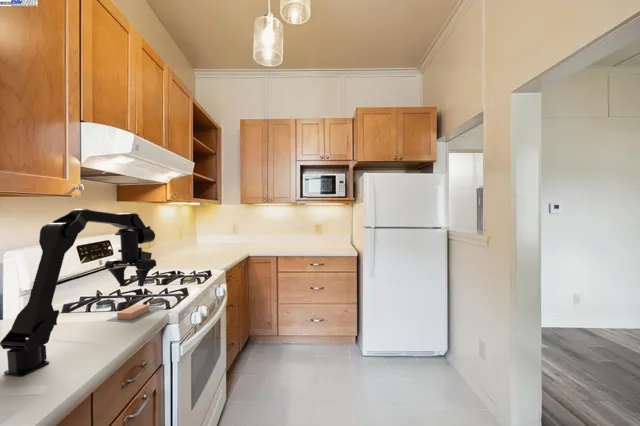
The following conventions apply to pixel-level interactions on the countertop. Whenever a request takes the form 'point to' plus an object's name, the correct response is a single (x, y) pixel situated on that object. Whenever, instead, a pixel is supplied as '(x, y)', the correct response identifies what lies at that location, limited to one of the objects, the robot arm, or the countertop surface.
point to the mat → (151, 311)
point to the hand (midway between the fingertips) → (132, 285)
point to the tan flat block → (133, 312)
